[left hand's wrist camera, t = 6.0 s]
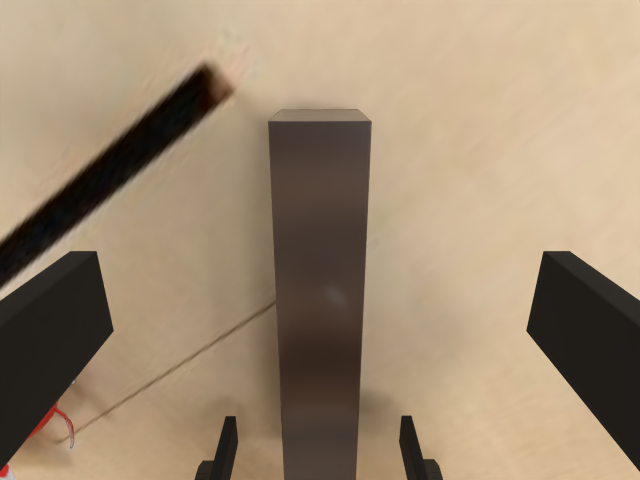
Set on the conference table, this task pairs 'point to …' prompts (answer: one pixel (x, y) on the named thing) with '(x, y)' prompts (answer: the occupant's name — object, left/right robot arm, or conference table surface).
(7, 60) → the conference table surface
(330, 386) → the beam
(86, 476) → the conference table surface
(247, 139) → the conference table surface
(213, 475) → the right robot arm
